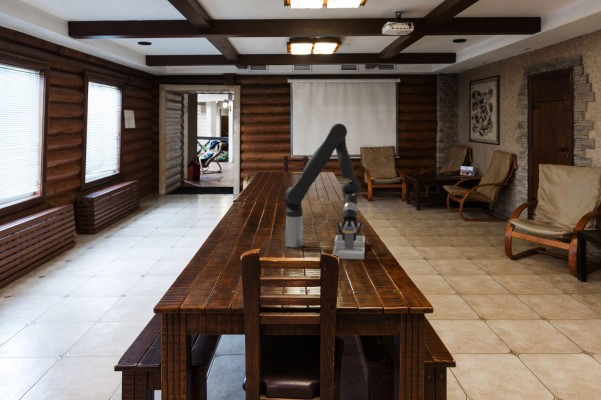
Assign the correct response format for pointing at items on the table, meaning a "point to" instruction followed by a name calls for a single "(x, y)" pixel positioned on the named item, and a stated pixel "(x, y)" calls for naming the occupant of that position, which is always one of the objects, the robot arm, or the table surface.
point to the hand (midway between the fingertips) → (349, 240)
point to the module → (349, 237)
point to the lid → (349, 253)
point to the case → (357, 243)
